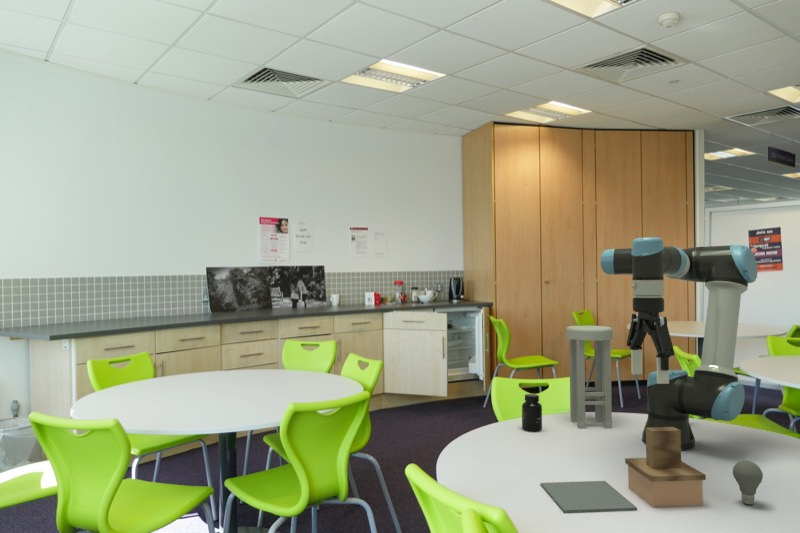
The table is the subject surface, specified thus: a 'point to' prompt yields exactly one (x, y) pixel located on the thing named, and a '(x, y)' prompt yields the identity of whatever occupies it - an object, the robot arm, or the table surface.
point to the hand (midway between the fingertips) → (649, 378)
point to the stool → (602, 374)
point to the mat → (587, 497)
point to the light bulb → (747, 479)
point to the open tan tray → (665, 491)
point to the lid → (664, 457)
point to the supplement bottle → (532, 413)
